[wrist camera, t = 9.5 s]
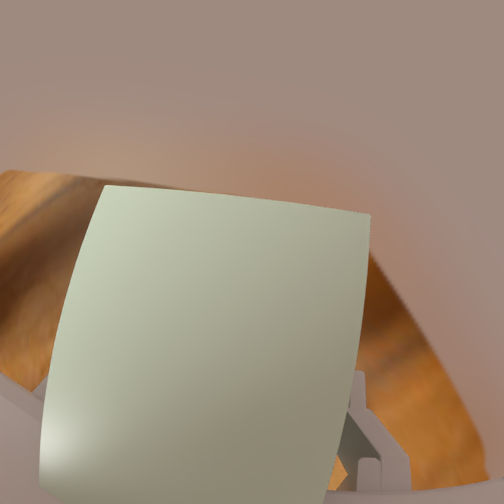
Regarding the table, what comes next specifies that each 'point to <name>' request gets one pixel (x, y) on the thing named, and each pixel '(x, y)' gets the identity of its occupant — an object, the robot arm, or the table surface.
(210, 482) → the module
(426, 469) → the table surface
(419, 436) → the table surface
